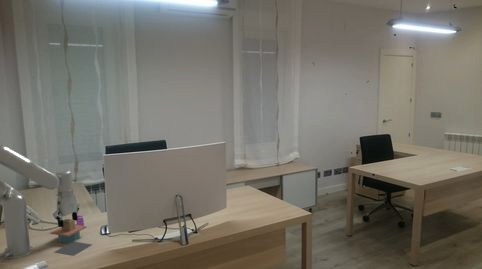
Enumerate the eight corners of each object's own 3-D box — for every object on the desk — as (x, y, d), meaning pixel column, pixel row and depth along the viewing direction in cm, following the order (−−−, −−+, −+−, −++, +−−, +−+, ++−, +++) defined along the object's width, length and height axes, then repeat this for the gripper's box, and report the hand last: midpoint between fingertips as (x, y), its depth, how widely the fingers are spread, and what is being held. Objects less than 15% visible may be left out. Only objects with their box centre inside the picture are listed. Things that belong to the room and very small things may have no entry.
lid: (68, 236, 180) (67, 226, 179) (50, 233, 184) (49, 223, 183) (86, 227, 191) (85, 217, 191) (68, 225, 195) (68, 215, 195)
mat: (73, 256, 168) (73, 255, 168) (53, 253, 172) (53, 252, 172) (92, 245, 180) (92, 244, 180) (73, 242, 184) (73, 241, 184)
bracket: (83, 225, 209) (82, 214, 208) (84, 228, 204) (83, 217, 203) (59, 229, 203) (58, 218, 202) (59, 232, 198) (58, 221, 197)
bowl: (69, 244, 182) (68, 235, 181) (54, 241, 185) (53, 233, 184) (83, 236, 191) (83, 228, 191) (69, 234, 195) (68, 226, 194)
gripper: (57, 198, 176) (60, 230, 178) (83, 189, 192) (85, 218, 194) (46, 197, 178) (49, 228, 180) (72, 188, 194) (75, 217, 196)
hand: (68, 223), depth 187 cm, fingers open, 9 cm apart
